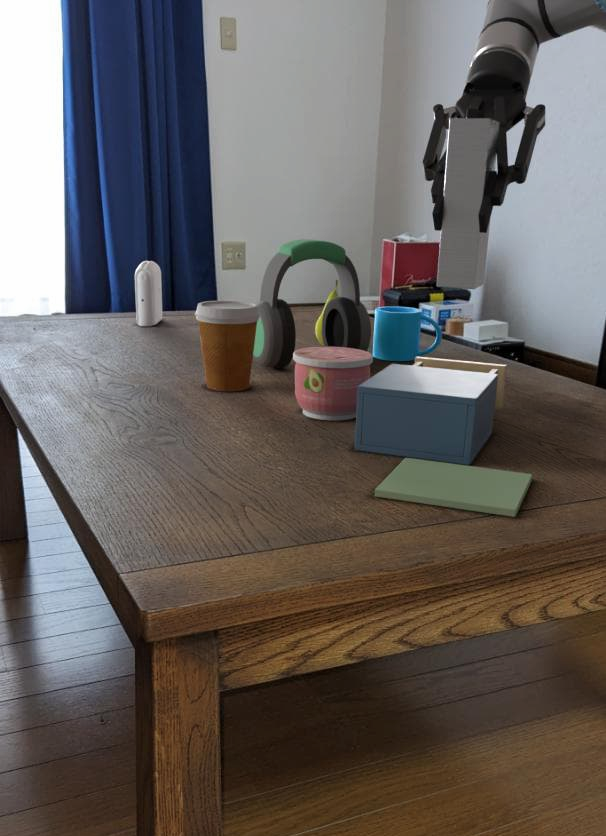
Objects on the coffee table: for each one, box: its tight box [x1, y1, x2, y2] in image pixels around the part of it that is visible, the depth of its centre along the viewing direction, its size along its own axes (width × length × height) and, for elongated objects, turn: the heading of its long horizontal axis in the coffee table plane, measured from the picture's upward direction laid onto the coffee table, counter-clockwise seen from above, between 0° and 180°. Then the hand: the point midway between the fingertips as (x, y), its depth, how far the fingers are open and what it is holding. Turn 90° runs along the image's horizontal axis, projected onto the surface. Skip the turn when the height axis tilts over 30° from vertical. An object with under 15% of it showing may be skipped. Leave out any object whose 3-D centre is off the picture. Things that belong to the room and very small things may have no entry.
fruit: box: [314, 279, 340, 347], centre depth 164 cm, size 6×6×12 cm
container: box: [292, 346, 374, 421], centre depth 119 cm, size 10×10×8 cm
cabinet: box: [354, 363, 498, 466], centre depth 108 cm, size 15×14×8 cm
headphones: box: [253, 238, 372, 369], centre depth 147 cm, size 19×11×20 cm, turn 114°
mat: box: [374, 457, 533, 518], centre depth 93 cm, size 14×12×1 cm
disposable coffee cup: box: [194, 300, 260, 392], centre depth 132 cm, size 10×10×12 cm
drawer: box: [411, 356, 508, 410], centre depth 120 cm, size 18×12×6 cm
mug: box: [372, 305, 443, 362], centre depth 158 cm, size 12×8×8 cm
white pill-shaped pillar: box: [134, 260, 163, 327], centre depth 185 cm, size 10×4×12 cm, turn 178°
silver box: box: [436, 109, 500, 290], centre depth 104 cm, size 4×6×19 cm
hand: (459, 222), depth 101 cm, fingers closed on silver box, 4 cm apart
